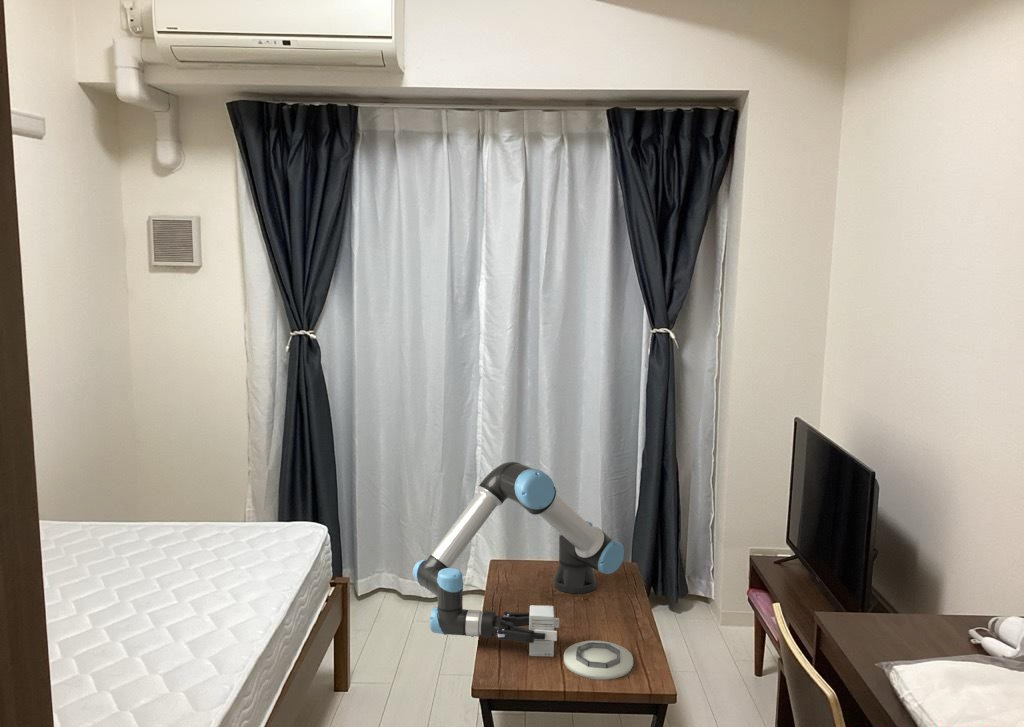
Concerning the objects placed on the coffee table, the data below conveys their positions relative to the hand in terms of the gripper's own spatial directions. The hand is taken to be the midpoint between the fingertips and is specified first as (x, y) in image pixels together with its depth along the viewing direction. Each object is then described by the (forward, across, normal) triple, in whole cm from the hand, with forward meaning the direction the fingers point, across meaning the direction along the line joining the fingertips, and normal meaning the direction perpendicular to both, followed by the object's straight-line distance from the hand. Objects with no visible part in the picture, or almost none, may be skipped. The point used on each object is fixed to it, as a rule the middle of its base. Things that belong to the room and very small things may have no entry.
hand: (557, 629), depth 236 cm
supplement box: (-5, 0, -7) cm, 9 cm away
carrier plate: (+12, +4, -7) cm, 15 cm away
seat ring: (+12, +4, -5) cm, 14 cm away
